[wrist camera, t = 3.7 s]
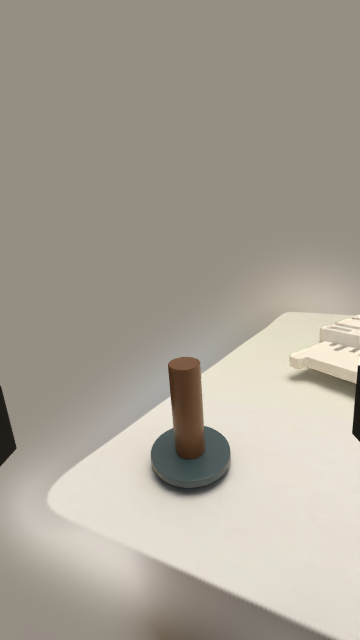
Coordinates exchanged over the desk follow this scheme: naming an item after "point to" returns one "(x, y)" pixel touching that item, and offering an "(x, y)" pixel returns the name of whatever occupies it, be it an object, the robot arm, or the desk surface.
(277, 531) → the desk surface
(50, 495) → the desk surface
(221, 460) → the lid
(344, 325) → the organizer
